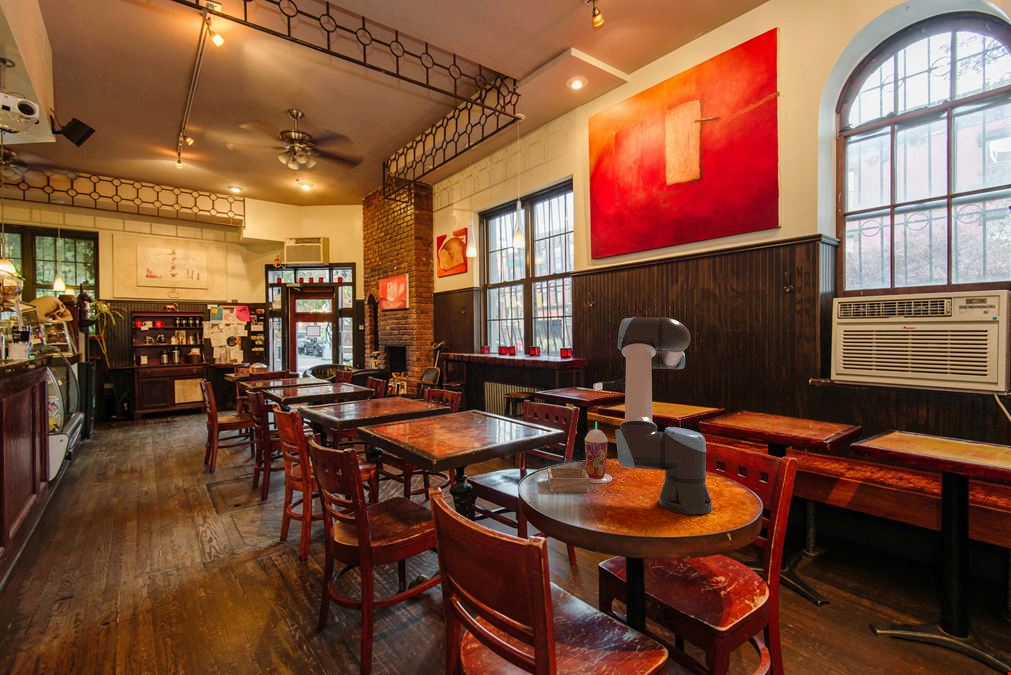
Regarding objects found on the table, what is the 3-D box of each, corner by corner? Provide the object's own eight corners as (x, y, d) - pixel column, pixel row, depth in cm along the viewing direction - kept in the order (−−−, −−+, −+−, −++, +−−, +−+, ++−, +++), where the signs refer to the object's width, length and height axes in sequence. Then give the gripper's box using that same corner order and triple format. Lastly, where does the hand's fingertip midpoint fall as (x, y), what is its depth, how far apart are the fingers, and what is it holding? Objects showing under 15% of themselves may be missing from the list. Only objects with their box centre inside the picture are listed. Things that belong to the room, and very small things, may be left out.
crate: (589, 492, 154) (589, 478, 154) (550, 491, 155) (550, 478, 155) (583, 480, 167) (583, 467, 167) (547, 479, 168) (547, 467, 168)
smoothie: (605, 473, 174) (605, 420, 174) (609, 480, 165) (609, 424, 165) (582, 473, 174) (583, 420, 174) (586, 480, 165) (586, 424, 165)
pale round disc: (615, 483, 163) (615, 481, 163) (581, 483, 164) (581, 481, 164) (608, 473, 175) (608, 471, 175) (576, 473, 176) (576, 471, 176)
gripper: (661, 395, 187) (642, 401, 170) (603, 391, 202) (581, 395, 185) (661, 376, 187) (642, 380, 170) (603, 373, 202) (581, 377, 185)
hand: (610, 388), depth 178 cm, fingers open, 13 cm apart
